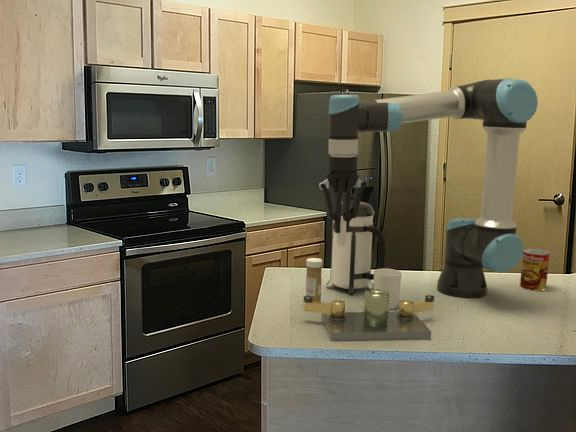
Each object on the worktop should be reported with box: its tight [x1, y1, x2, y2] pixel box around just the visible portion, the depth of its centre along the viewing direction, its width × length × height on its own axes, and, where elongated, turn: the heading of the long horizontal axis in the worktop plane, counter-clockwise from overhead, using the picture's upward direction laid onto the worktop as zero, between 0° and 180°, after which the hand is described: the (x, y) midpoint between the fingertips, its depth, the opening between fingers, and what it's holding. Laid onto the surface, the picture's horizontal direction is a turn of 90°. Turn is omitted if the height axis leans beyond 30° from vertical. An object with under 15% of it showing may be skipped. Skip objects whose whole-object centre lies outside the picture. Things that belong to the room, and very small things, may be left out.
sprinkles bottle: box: [305, 257, 323, 302], centre depth 180 cm, size 5×5×14 cm
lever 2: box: [398, 294, 435, 319], centre depth 168 cm, size 4×11×4 cm, turn 122°
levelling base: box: [321, 288, 432, 342], centre depth 162 cm, size 25×15×11 cm, turn 96°
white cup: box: [372, 268, 402, 310], centre depth 181 cm, size 8×8×10 cm
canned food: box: [519, 248, 550, 291], centre depth 203 cm, size 8×8×12 cm
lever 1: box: [303, 295, 346, 319], centre depth 165 cm, size 4×11×4 cm, turn 69°
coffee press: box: [325, 193, 386, 296], centre depth 195 cm, size 17×16×30 cm
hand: (341, 244), depth 168 cm, fingers closed
